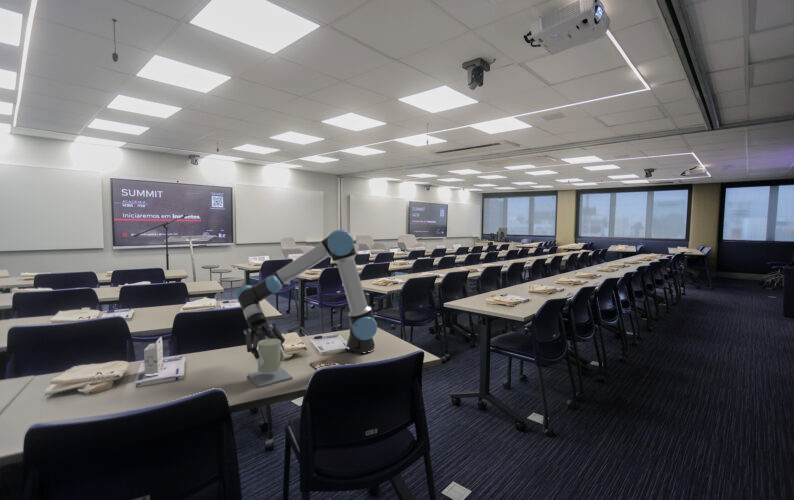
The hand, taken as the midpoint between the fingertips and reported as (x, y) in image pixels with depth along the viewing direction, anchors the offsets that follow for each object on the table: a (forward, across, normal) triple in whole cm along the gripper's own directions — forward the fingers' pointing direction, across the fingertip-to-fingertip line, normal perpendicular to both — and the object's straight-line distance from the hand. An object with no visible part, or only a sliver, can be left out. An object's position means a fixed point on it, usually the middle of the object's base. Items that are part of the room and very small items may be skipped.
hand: (273, 361), depth 143 cm
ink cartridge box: (-25, +31, -36) cm, 54 cm away
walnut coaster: (+8, -24, -3) cm, 26 cm away
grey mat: (+3, 0, -8) cm, 8 cm away
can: (+1, 0, -5) cm, 5 cm away
